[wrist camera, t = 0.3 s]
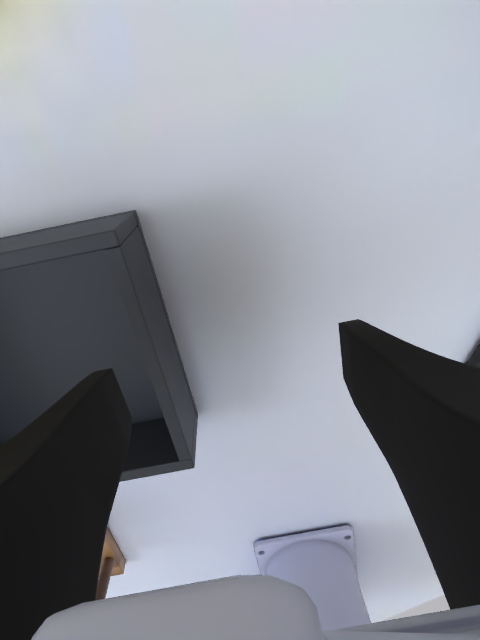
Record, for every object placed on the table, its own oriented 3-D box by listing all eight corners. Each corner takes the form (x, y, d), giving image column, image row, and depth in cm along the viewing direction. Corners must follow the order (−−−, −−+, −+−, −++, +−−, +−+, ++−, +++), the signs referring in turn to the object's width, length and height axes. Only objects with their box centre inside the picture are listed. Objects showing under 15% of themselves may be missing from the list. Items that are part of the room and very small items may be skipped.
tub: (198, 414, 25) (194, 468, 21) (1, 452, 26) (-38, 511, 22) (135, 209, 19) (114, 229, 15) (-117, 262, 20) (-203, 295, 16)
